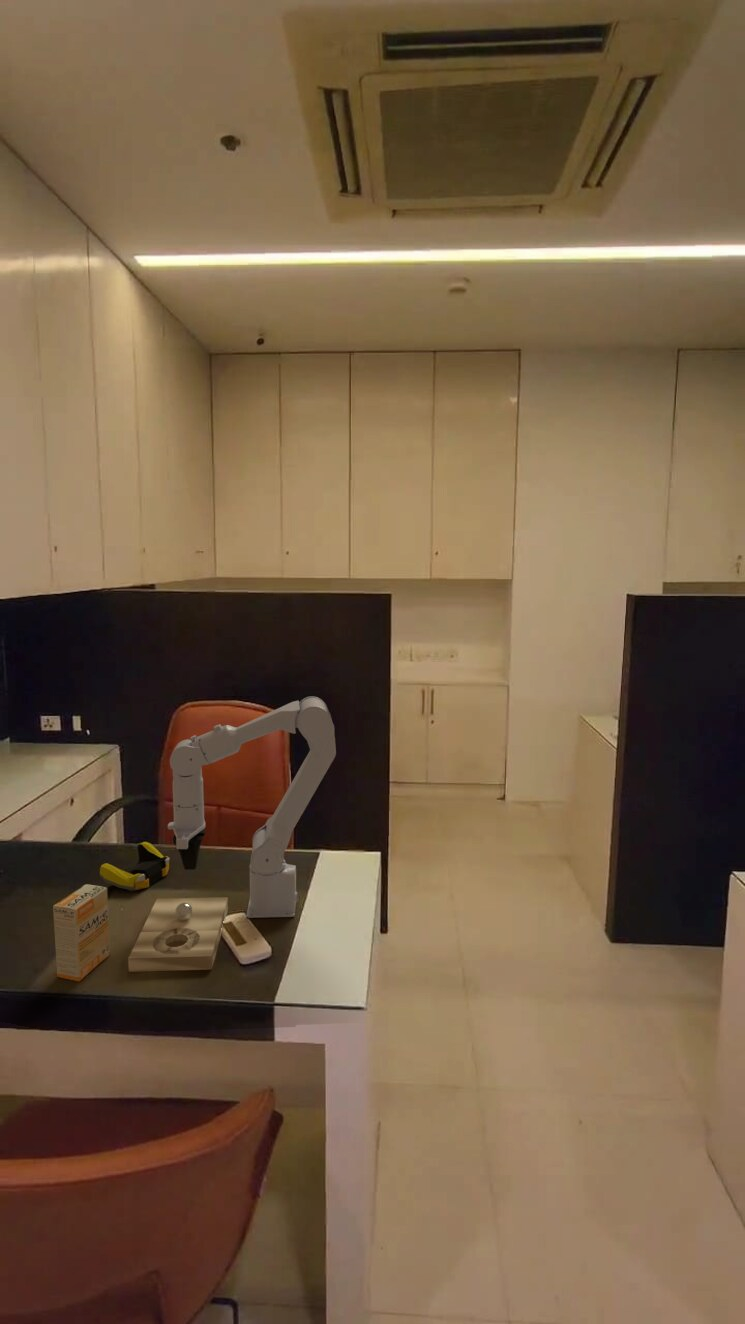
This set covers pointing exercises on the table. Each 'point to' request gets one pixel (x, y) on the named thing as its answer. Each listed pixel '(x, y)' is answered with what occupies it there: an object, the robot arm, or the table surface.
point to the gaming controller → (138, 870)
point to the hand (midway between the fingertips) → (190, 868)
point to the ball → (184, 911)
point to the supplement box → (81, 931)
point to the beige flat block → (179, 936)
